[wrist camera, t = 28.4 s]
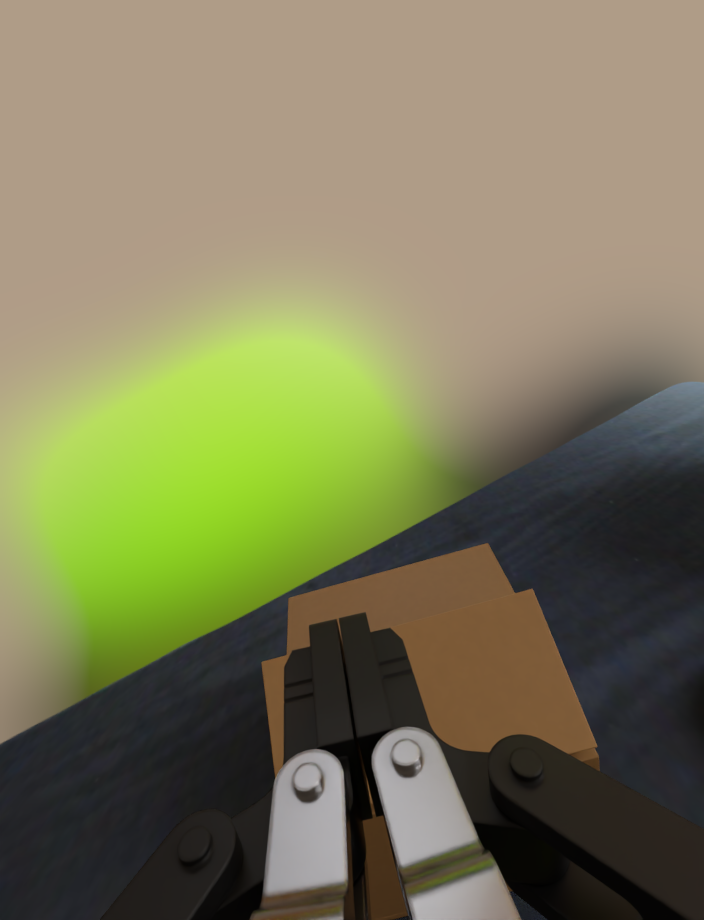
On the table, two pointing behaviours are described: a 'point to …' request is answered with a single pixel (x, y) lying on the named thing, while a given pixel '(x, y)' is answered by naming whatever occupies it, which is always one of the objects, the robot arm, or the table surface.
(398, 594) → the carton
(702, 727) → the table surface
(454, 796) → the robot arm
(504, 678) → the flap
